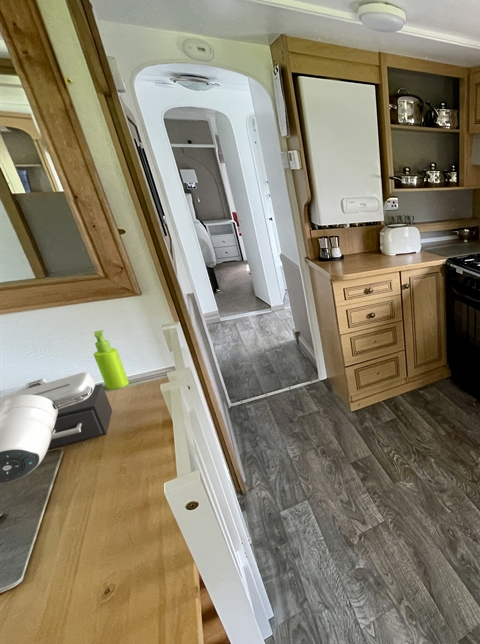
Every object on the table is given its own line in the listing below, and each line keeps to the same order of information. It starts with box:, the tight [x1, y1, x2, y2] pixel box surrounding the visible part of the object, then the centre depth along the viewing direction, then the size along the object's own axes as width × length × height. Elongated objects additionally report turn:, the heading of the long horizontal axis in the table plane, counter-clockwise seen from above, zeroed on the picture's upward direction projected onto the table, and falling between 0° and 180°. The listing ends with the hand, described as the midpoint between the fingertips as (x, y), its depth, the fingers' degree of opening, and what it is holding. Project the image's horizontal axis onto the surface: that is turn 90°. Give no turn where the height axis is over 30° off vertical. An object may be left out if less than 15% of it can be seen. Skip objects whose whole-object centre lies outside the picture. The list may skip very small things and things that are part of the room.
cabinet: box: [47, 383, 113, 451], centre depth 107 cm, size 15×13×10 cm
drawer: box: [48, 409, 103, 450], centre depth 104 cm, size 18×11×8 cm, turn 36°
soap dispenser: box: [93, 329, 130, 391], centre depth 129 cm, size 6×7×20 cm
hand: (37, 383), depth 87 cm, fingers closed
